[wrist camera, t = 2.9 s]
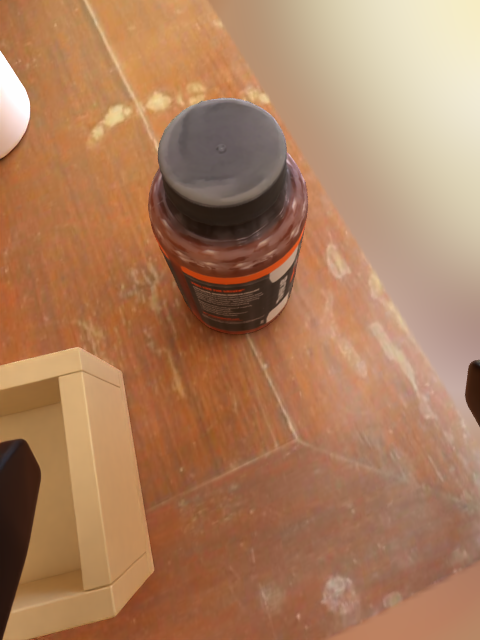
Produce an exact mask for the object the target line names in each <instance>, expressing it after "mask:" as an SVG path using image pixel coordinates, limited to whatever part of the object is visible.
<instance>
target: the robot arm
mask: <svg viewBox="0 0 480 640" xmlns="http://www.w3.org/2000/svg"><path fill="white" fill-rule="evenodd" d="M465 397H466V402H467V404H468V407H469V409H470V410H471V412H472V414H473V416H474V417H475V419H476V421H477V423H478V425H479V426H480V360H476V361H473V362H471V363H470V365H469V368H468V375H467V383H466V392H465ZM40 483H41V470H40V467H39V464H38V462H37V460H36V458H35V456H34V454H33V452H32V450H31V448H30V446H29V444H28V443H27V441H26V440H24V439H14V440H8V441H3V442H1V443H0V640H2V639H3V636H4V633H5V629H6V626H7V622H8V619H9V615H10V612H11V609H12V605H13V602H14V598H15V595H16V591H17V588H18V585H19V581H20V578H21V574H22V571H23V568H24V564H25V560H26V556H27V552H28V548H29V543H30V538H31V532H32V527H33V521H34V516H35V510H36V505H37V499H38V494H39V488H40Z"/></svg>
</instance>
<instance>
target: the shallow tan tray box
mask: <svg viewBox="0 0 480 640" xmlns="http://www.w3.org/2000/svg"><path fill="white" fill-rule="evenodd" d="M14 439H24V440H26V441H27V443H28V444H29V446H30V448H31V450H32V452H33V454H34V456H35V458H36V460H37V462H38V464H39V467H40V470H41V483H40V488H39V494H38V499H37V505H36V510H35V516H34V521H33V527H32V532H31V538H30V543H29V548H28V552H27V556H26V560H25V564H24V568H23V571H22V574H21V578H20V581H19V585H18V588H17V591H16V595H15V598H14V602H13V605H12V609H11V612H10V615H9V619H8V622H7V626H6V629H5V633H4V636H3V639H2V640H30V639H34V638H37V637H41V636H45V635H49V634H53V633H56V632H60V631H64V630H68V629H72V628H75V627H79V626H83V625H87V624H91V623H95V622H98V621H102V620H106V619H110V618H114V617H115V616H116V615H117V614H118V613H119V612H120V611H121V609H122V608H123V607H124V606H125V605H126V603H127V602H128V601H129V600H130V599H131V597H132V596H133V595H134V594H135V593H136V592H137V590H138V589H139V588H140V587H141V586H142V584H143V583H144V582H145V581H146V580H147V578H148V577H149V576H150V575H151V574H152V573H153V572H154V565H153V559H152V553H151V547H150V541H149V534H148V528H147V522H146V516H145V510H144V504H143V498H142V492H141V486H140V479H139V473H138V467H137V461H136V455H135V449H134V443H133V437H132V430H131V424H130V418H129V412H128V406H127V400H126V394H125V388H124V382H123V375H122V372H121V371H120V370H118V369H117V368H115V367H113V366H111V365H110V364H108V363H106V362H104V361H103V360H101V359H99V358H97V357H96V356H94V355H92V354H90V353H89V352H87V351H85V350H83V349H82V348H80V347H76V348H72V349H68V350H64V351H59V352H55V353H51V354H47V355H43V356H39V357H35V358H30V359H26V360H22V361H18V362H14V363H10V364H6V365H1V366H0V443H1V442H3V441H8V440H14Z"/></svg>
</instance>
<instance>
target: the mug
mask: <svg viewBox="0 0 480 640" xmlns="http://www.w3.org/2000/svg"><path fill="white" fill-rule="evenodd" d="M29 119H30V102H29V99H28V96H27V93H26V90H25V88H24V87H23V85H22V84H21V82H20V81H19V79H18V78H17V76H16V75H15V73H14V71H13V70H12V68H11V67H10V65H9V64H8V62H7V61H6V59H5V58H4V56H3V54H2V53H1V51H0V159H1V158H2V157H4V156H6V155H7V154H8V153H9V152H10V151H11V150H12V149H13V148H14V147H15V146H16V145H17V144H18V143H19V141H20V140H21V138H22V136H23V135H24V133H25V132H26V129H27V126H28V122H29Z"/></svg>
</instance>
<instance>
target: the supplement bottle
mask: <svg viewBox="0 0 480 640" xmlns="http://www.w3.org/2000/svg"><path fill="white" fill-rule="evenodd" d="M158 162H159V169H158V171H157V173H156V174H155V177H154V178H153V181H152V185H151V189H150V193H149V203H148V208H149V209H148V210H149V216H150V221H151V226H152V229H153V233H154V235H155V238H156V240H157V242H158V244H159V247H160V249H161V251H162V253H163V255H164V257H165V259H166V261H167V263H168V266H169V268H170V270H171V272H172V274H173V276H174V278H175V281H176V283H177V285H178V287H179V289H180V291H181V293H182V295H183V298H184V300H185V302H186V303H187V305H188V307H189V308H190V310H191V311H192V313H193V314H194V315H195V316H196V317H197V318H198V319H199V320H200V321H201V322H202V323H204V324H205V325H206V326H208V327H210V328H212V329H214V330H217V331H219V332H223V333H229V334H245V333H250V332H253V331H257V330H259V329H261V328H263V327H265V326H266V325H268V324H269V323H271V322H272V321H273V320H274V319H276V318H277V316H278V315H279V314H280V313H281V312H282V310H283V309H284V307H285V305H286V303H287V301H288V299H289V297H290V293H291V290H292V287H293V281H294V277H295V272H296V266H297V261H298V256H299V252H300V248H301V243H302V238H303V234H304V230H305V224H306V218H307V210H308V196H307V188H306V182H305V180H304V179H303V176H302V174H301V172H300V170H299V168H298V166H297V165H296V163H295V161H294V160H293V159H292V158H291V156H290V155H289V154H288V153H287V147H286V141H285V137H284V134H283V132H282V130H281V128H280V126H279V124H278V123H277V122H276V120H275V119H274V118H273V117H272V116H271V115H270V114H269V113H268V112H267V111H265V110H264V109H262V108H260V107H259V106H257V105H254V104H253V103H251V102H248V101H244V100H240V99H234V98H219V99H212V100H207V101H201V102H199V103H198V104H195V105H193V106H190V107H188V108H187V109H185V110H183V111H182V112H181V113H180V114H179V115H178V116H176V117H175V118H174V119H173V120H172V121H171V122H170V124H169V125H168V126H167V128H166V129H165V130H164V133H163V135H162V138H161V140H160V143H159V148H158Z"/></svg>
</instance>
